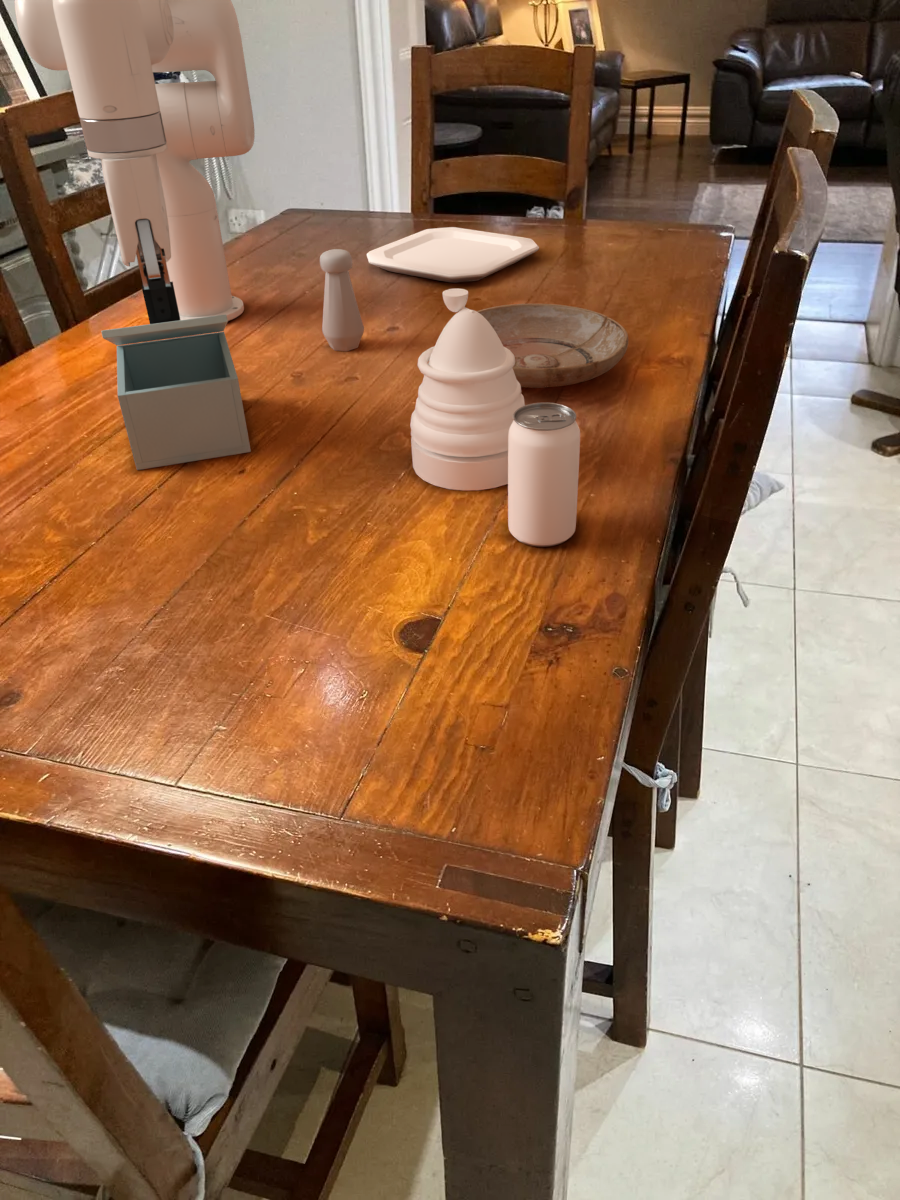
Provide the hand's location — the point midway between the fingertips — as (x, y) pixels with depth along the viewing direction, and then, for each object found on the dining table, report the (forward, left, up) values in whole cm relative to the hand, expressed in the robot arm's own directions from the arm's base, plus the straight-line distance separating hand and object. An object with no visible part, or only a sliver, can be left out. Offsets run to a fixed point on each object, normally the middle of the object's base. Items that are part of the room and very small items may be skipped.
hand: (165, 322), depth 101 cm
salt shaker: (-23, +23, -14) cm, 36 cm away
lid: (-2, 0, -2) cm, 3 cm away
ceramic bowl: (-5, +45, -14) cm, 47 cm away
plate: (-56, +49, -14) cm, 76 cm away
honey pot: (+17, +29, -14) cm, 36 cm away
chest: (-2, 0, -14) cm, 14 cm away
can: (+33, +31, -14) cm, 47 cm away
